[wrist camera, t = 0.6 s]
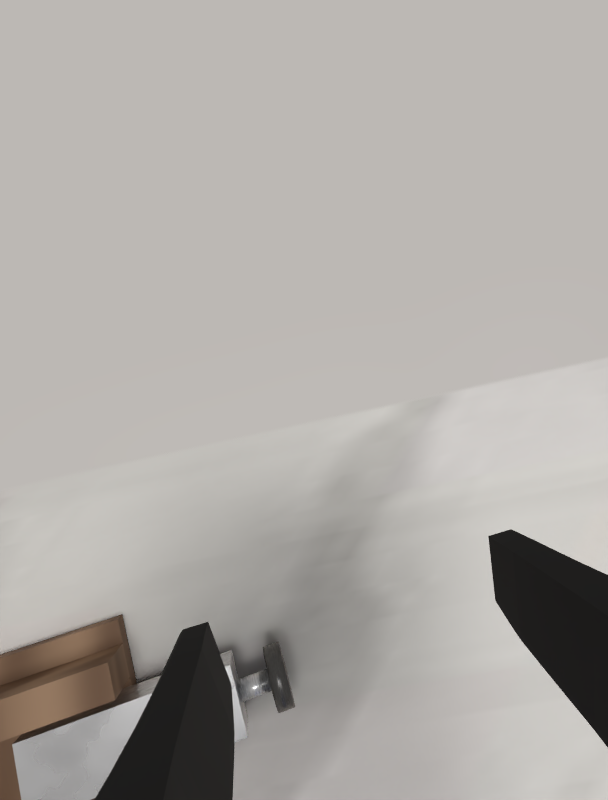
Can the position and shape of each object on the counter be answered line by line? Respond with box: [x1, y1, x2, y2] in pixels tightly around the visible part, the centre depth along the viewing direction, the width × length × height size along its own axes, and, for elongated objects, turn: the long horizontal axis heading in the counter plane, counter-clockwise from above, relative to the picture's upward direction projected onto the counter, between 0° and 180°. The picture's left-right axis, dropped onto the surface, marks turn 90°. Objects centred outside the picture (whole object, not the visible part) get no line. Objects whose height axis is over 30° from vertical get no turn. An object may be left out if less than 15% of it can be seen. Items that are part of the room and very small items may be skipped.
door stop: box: [12, 642, 295, 800], centre depth 26 cm, size 15×4×4 cm, turn 106°
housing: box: [0, 615, 137, 800], centre depth 24 cm, size 14×12×4 cm
